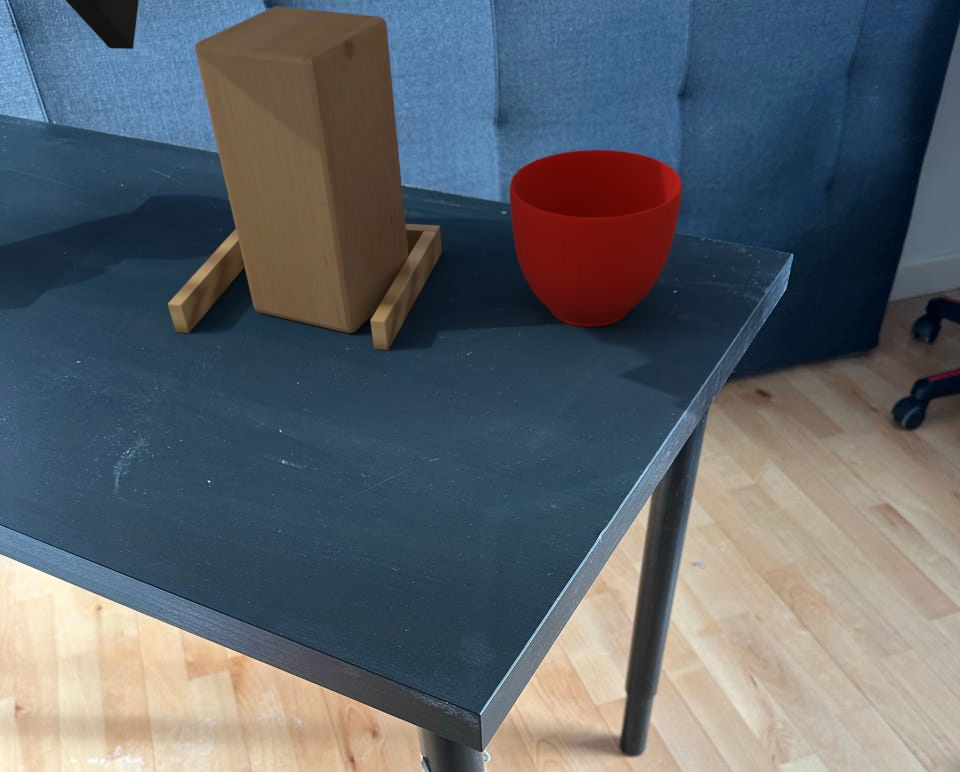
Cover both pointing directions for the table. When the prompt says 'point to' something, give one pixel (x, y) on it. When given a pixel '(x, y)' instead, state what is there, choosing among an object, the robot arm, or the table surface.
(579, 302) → the ceramic cup
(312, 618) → the table surface
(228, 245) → the frame
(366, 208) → the wooden block
